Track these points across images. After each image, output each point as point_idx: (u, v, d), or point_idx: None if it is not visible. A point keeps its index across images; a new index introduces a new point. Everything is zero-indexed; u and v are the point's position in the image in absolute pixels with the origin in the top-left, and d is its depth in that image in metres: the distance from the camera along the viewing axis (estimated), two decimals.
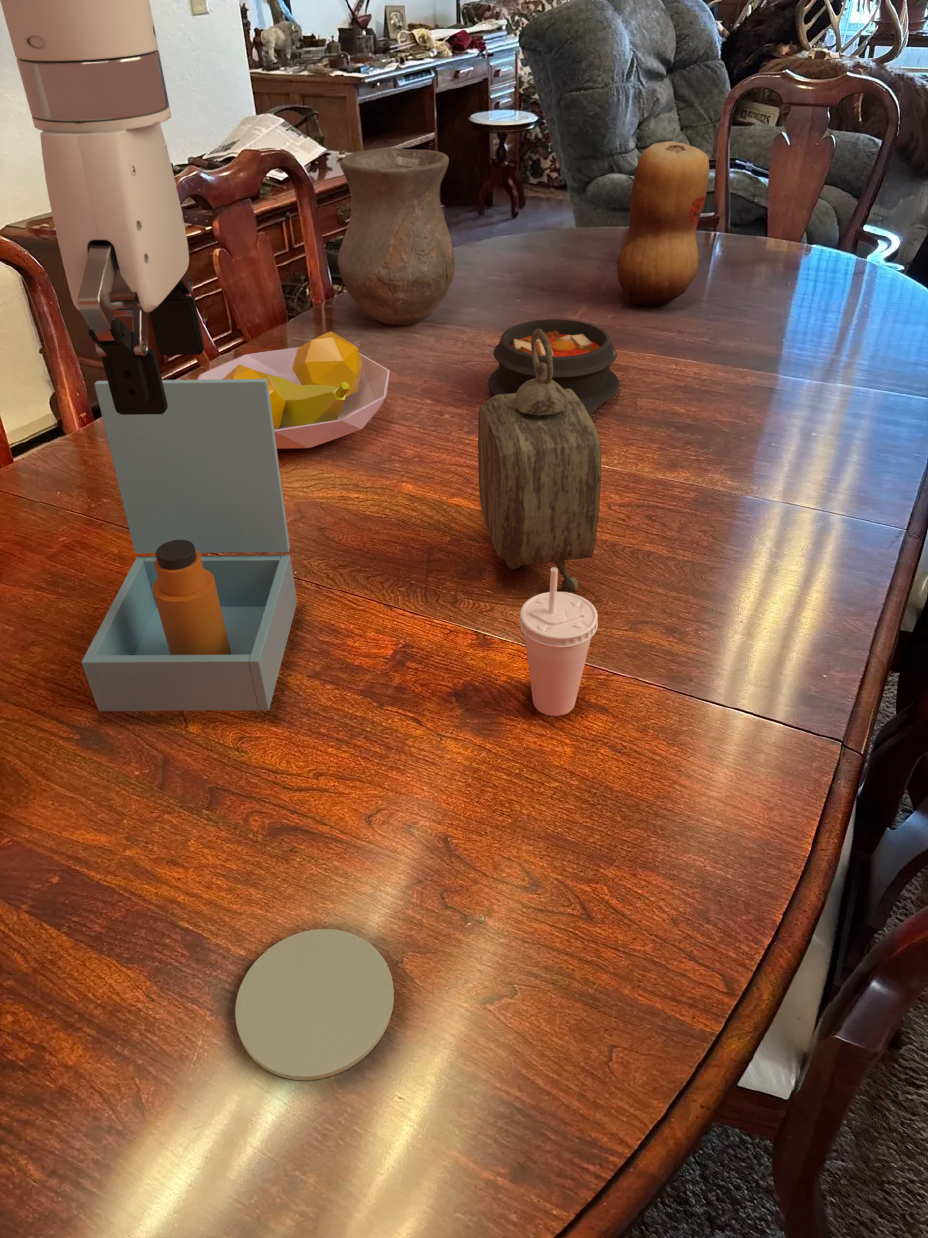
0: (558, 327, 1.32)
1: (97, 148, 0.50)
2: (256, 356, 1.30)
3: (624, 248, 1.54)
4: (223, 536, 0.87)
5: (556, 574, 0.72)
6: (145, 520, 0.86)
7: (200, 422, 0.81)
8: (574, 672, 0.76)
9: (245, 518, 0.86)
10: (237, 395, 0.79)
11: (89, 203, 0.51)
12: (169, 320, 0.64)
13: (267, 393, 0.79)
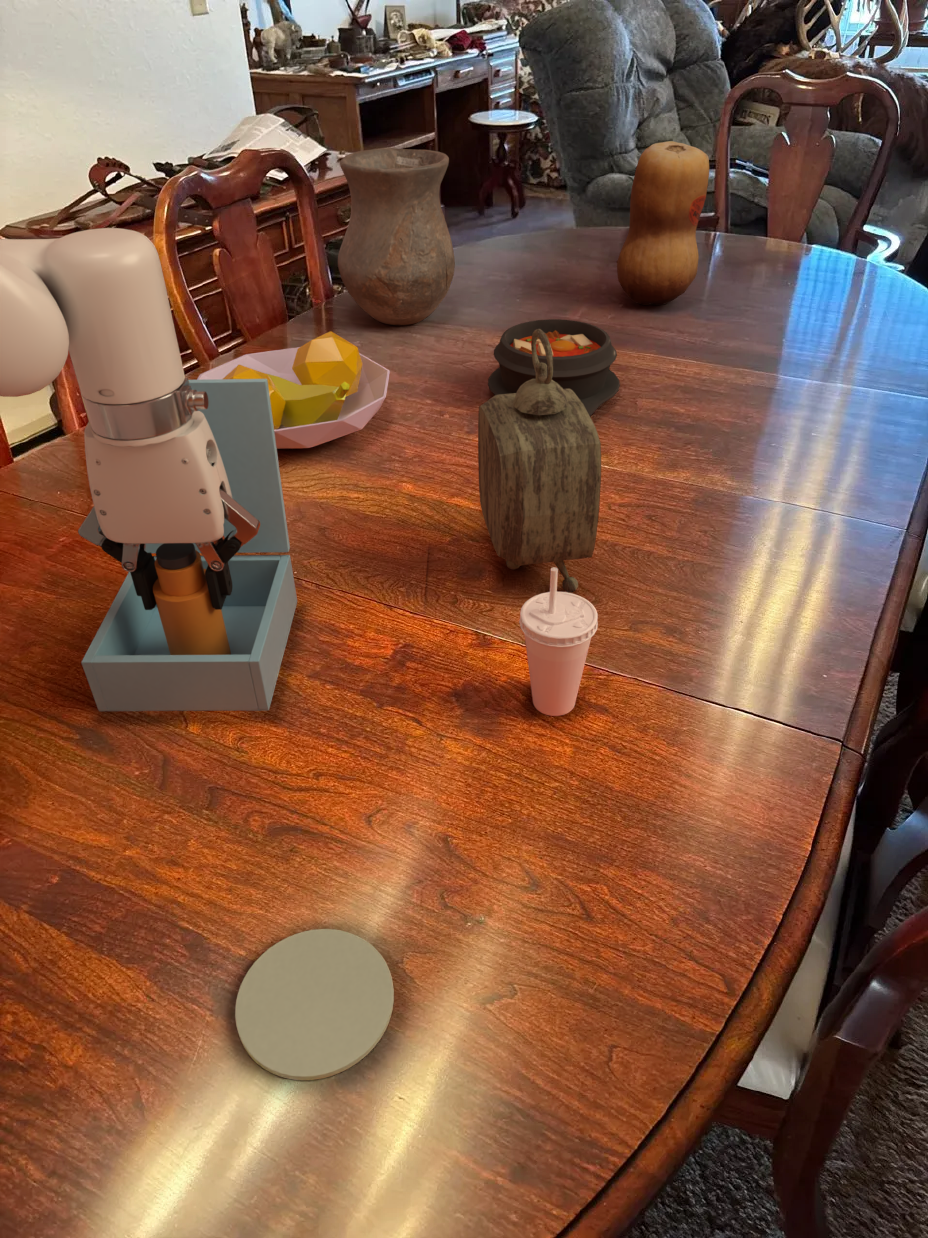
0: (558, 327, 1.32)
1: None
2: (256, 356, 1.30)
3: (624, 248, 1.54)
4: None
5: (556, 574, 0.72)
6: None
7: None
8: (574, 672, 0.76)
9: None
10: (237, 395, 0.79)
11: None
12: None
13: (267, 393, 0.79)
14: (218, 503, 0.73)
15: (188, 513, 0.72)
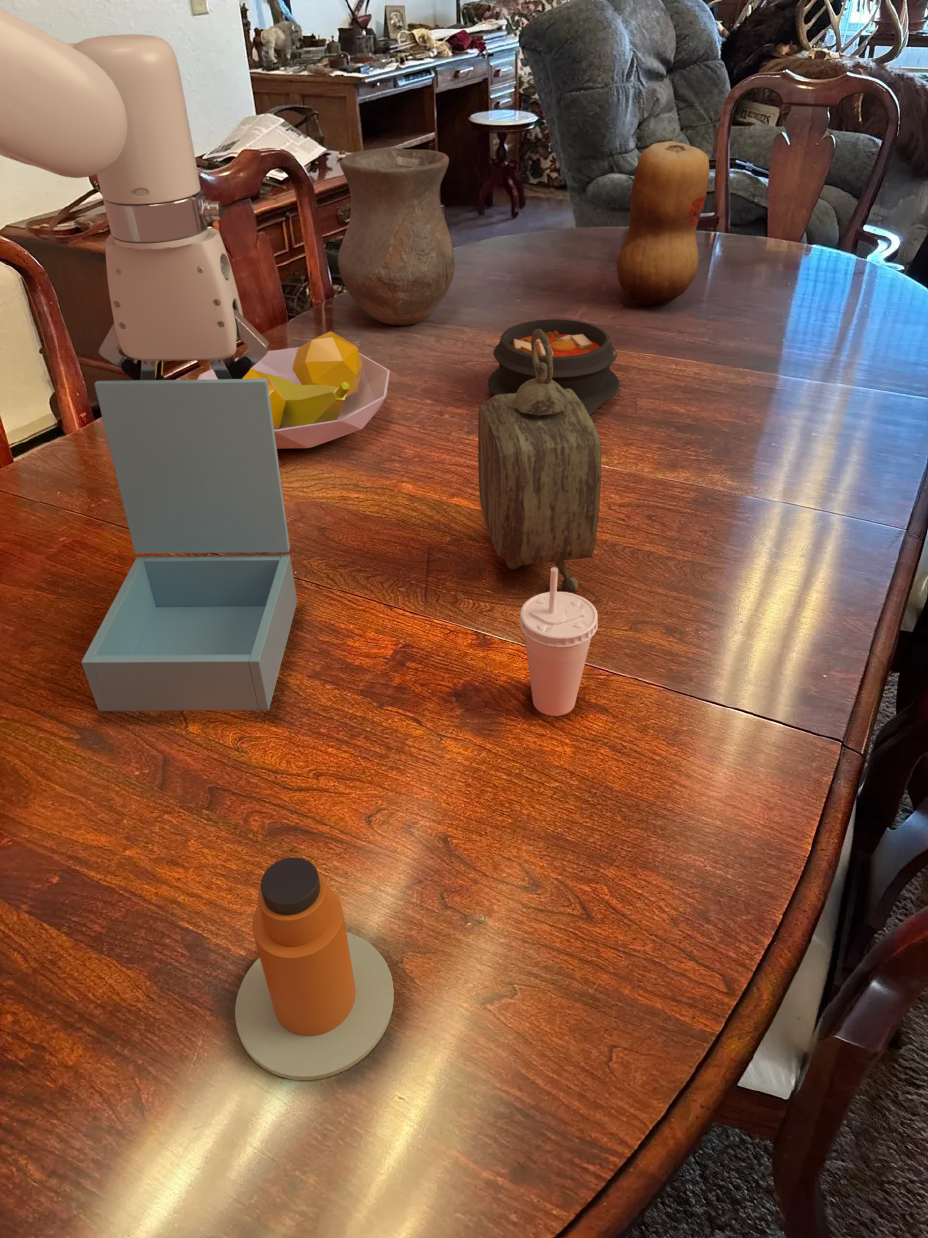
0: (558, 327, 1.32)
1: None
2: None
3: (624, 248, 1.54)
4: (223, 536, 0.87)
5: (556, 574, 0.72)
6: (145, 520, 0.86)
7: (200, 422, 0.81)
8: (574, 671, 0.76)
9: (245, 518, 0.86)
10: (237, 395, 0.79)
11: None
12: None
13: (267, 393, 0.79)
14: (231, 317, 0.77)
15: (203, 325, 0.77)
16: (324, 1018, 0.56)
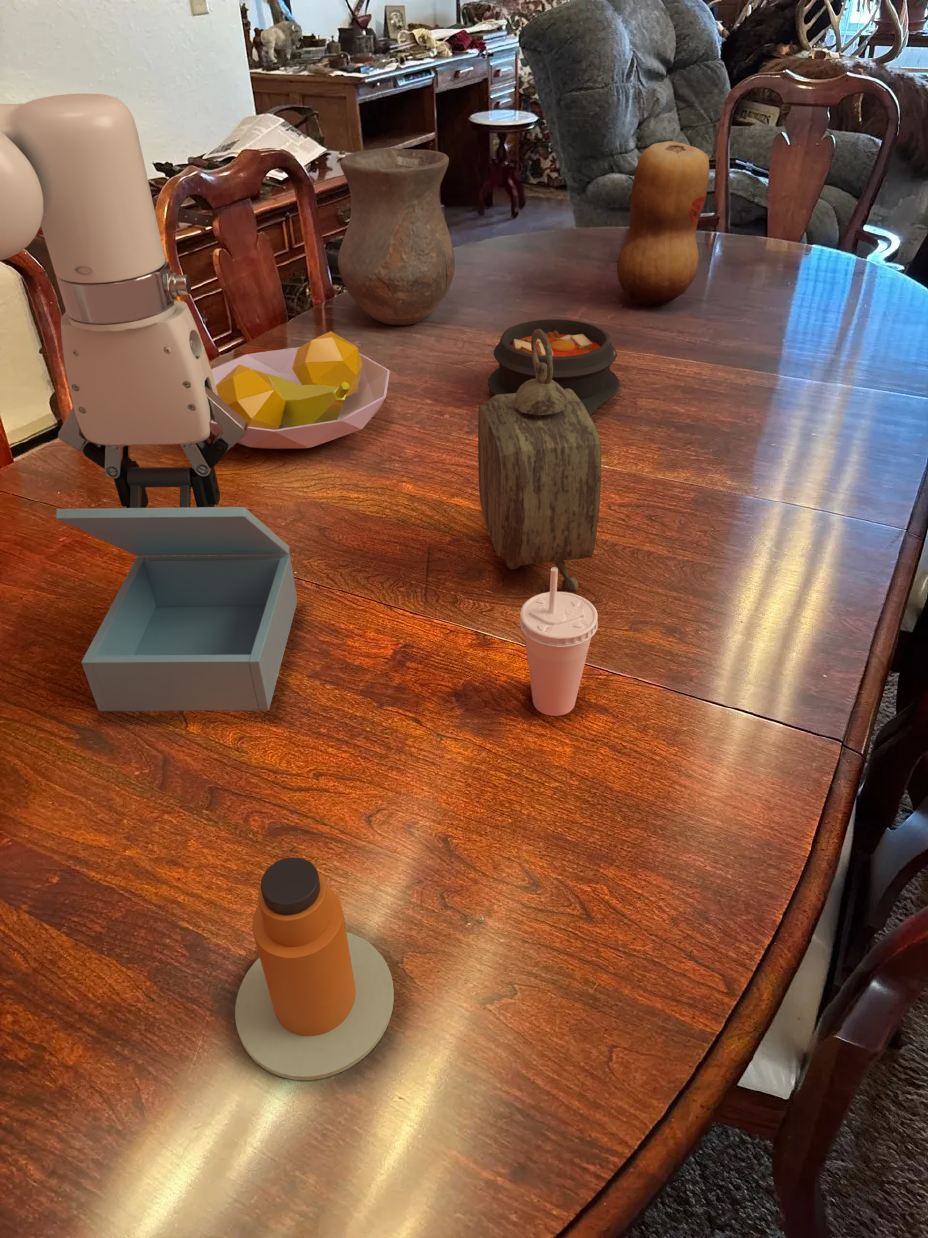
0: (558, 327, 1.32)
1: None
2: (256, 356, 1.30)
3: (624, 248, 1.54)
4: (222, 551, 0.86)
5: (556, 574, 0.72)
6: (140, 549, 0.85)
7: (180, 527, 0.75)
8: (574, 672, 0.76)
9: (241, 547, 0.84)
10: (215, 520, 0.73)
11: None
12: None
13: (247, 517, 0.72)
14: (203, 398, 0.69)
15: (172, 409, 0.69)
16: (324, 1018, 0.56)
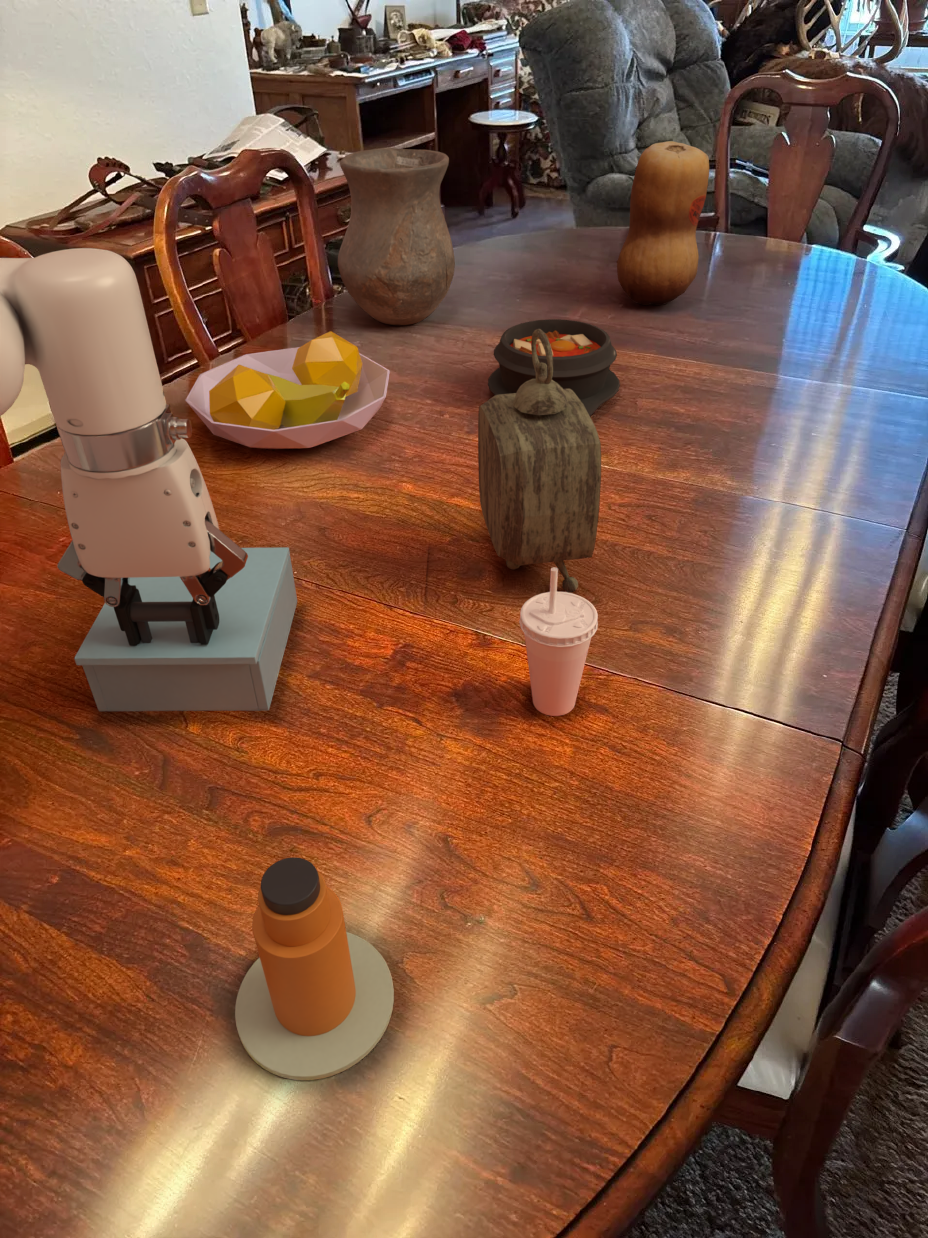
0: (558, 327, 1.32)
1: None
2: (256, 356, 1.30)
3: (624, 248, 1.54)
4: None
5: (556, 574, 0.72)
6: None
7: None
8: (574, 671, 0.76)
9: None
10: None
11: None
12: None
13: (258, 654, 0.76)
14: (203, 535, 0.69)
15: (172, 546, 0.69)
16: (324, 1018, 0.56)
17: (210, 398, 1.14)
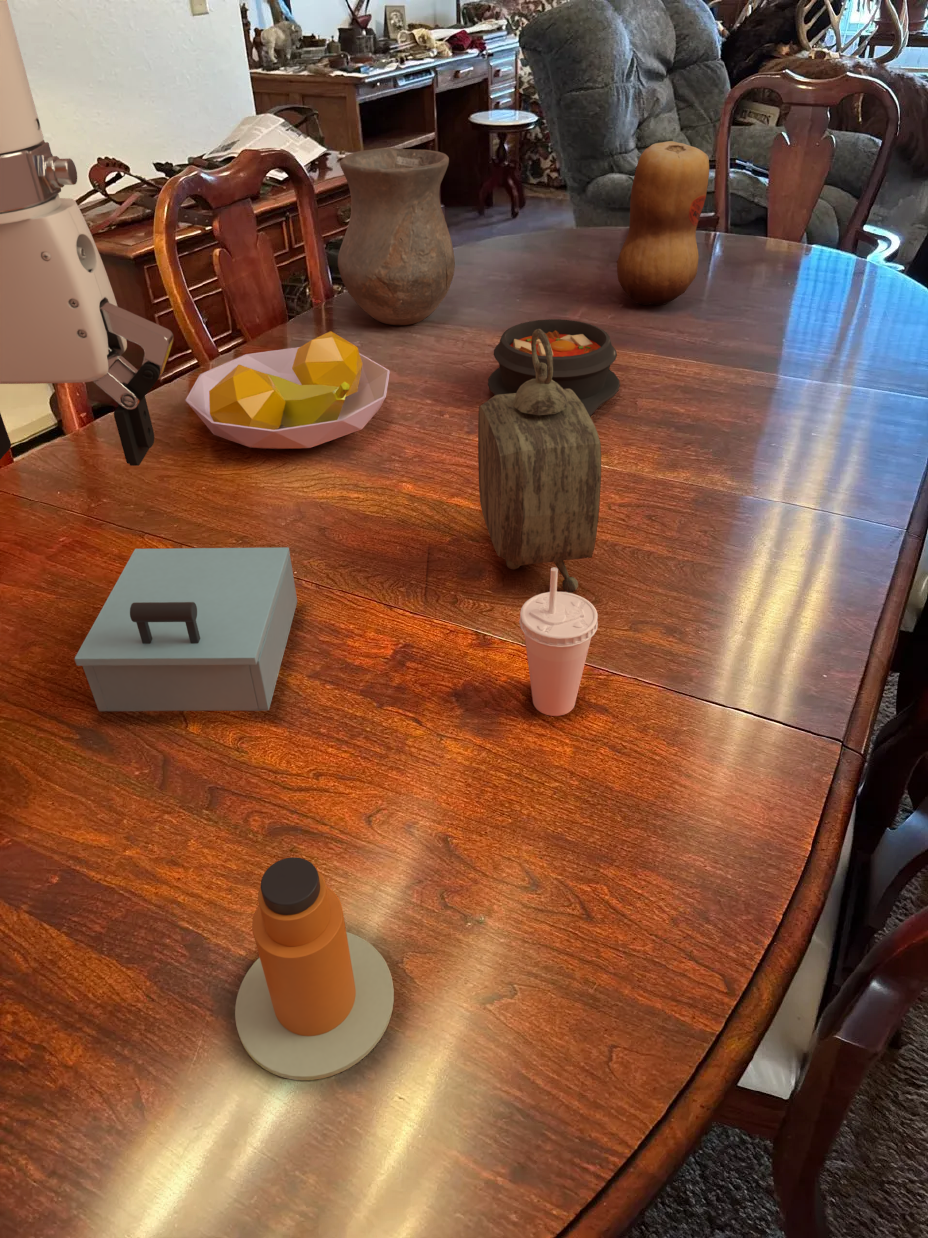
0: (558, 327, 1.32)
1: None
2: (256, 356, 1.30)
3: (624, 248, 1.54)
4: None
5: (556, 574, 0.72)
6: None
7: None
8: (574, 672, 0.76)
9: None
10: None
11: None
12: None
13: (258, 654, 0.76)
14: (98, 323, 0.55)
15: (57, 336, 0.55)
16: (324, 1018, 0.56)
17: (210, 398, 1.14)
